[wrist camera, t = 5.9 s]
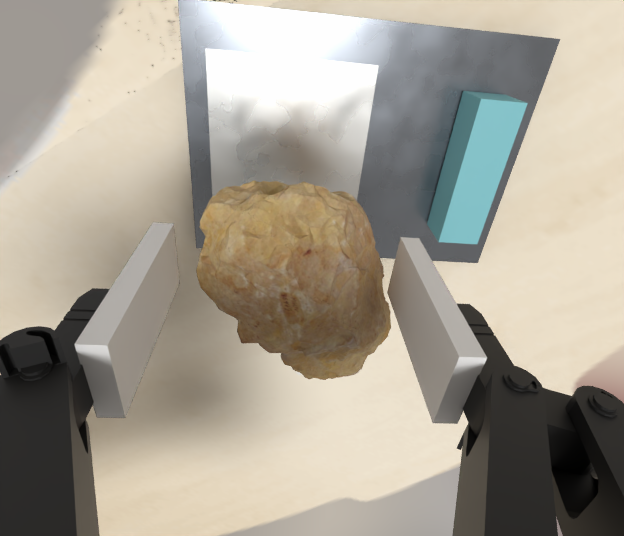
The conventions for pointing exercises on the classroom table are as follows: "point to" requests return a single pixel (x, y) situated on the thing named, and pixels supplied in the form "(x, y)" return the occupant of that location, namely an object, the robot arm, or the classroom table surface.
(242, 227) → the stone tool
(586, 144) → the classroom table surface
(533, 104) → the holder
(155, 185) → the classroom table surface
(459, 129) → the bar
